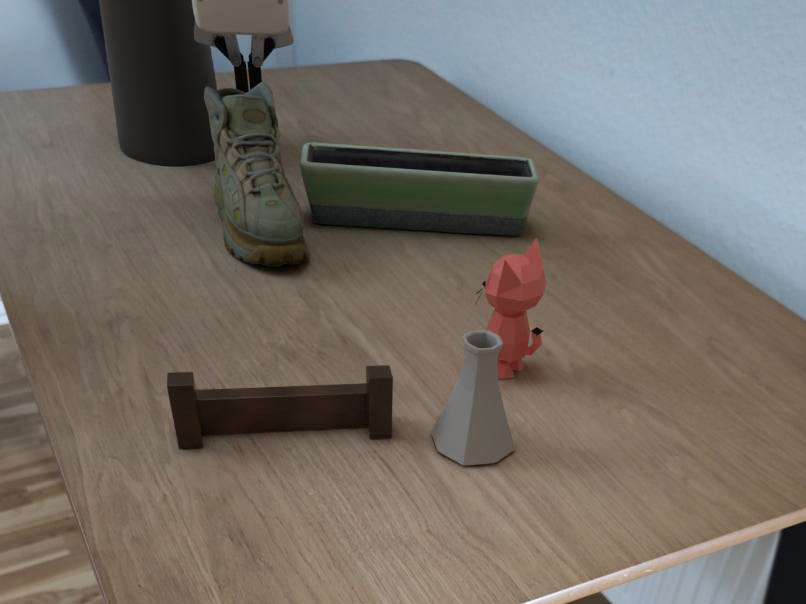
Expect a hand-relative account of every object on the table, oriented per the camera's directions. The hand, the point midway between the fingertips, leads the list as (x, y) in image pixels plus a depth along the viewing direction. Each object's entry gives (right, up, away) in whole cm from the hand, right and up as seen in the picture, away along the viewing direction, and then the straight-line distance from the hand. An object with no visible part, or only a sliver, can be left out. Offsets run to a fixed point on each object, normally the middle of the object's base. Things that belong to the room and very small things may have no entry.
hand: (250, 102), depth 103 cm
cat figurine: (+29, -36, -15) cm, 49 cm away
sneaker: (+1, -16, 0) cm, 16 cm away
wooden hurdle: (+10, -44, -25) cm, 51 cm away
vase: (-14, +3, +16) cm, 22 cm away
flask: (+26, -45, -24) cm, 57 cm away
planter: (+19, -11, +6) cm, 23 cm away
